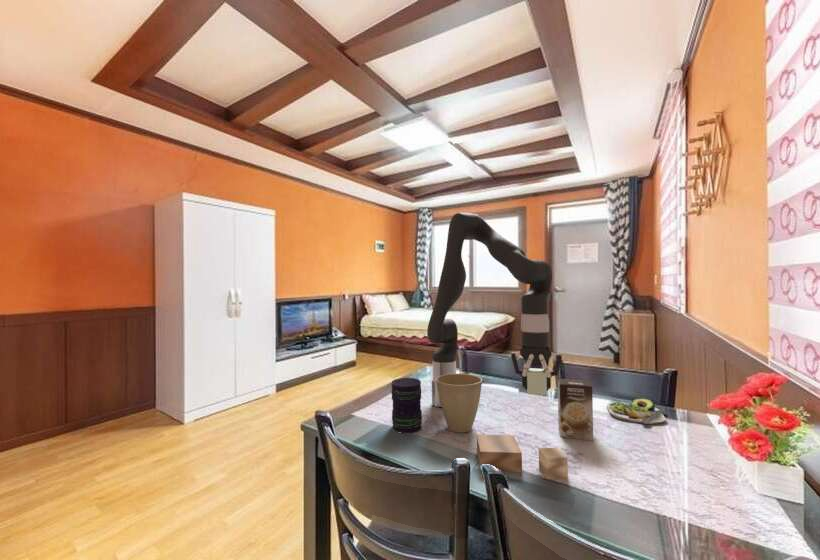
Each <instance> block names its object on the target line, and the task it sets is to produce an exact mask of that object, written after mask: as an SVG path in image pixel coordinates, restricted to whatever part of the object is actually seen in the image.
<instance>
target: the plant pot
mask: <svg viewBox="0 0 820 560" xmlns="http://www.w3.org/2000/svg"><path fill="white" fill-rule="evenodd" d="M436 383H437V389H438V395H439V399H440V403H441V407H442V408H441V410H442V413H443V416H444V419H445V423H446V425H447V427H448V429H449V430H450V431H451V432H453V433H459V434H460V433H461V434H462V433H468V432H470V431H471V430H472V429H473V426H474V422H475V420H476V416H477V413H478V409H479V404H480V399H481V393H482V386H483V385H482V383H483V379H482V377H480V376H478V375H474V374H470V373H468V374H467V373H456V374H446V375H441V376H439V377H437V378H436Z"/></svg>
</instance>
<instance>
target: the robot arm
mask: <svg viewBox="0 0 820 560" xmlns="http://www.w3.org/2000/svg"><path fill="white" fill-rule="evenodd" d="M465 240H466V241H470V240H471V241H473V240H474V241H476V242H479V243H481V244H483V245H484V246H485V247H486V248H487V250H488V253H489V254H490V256H491V257H492V258H493V259H494V260H496V261H497V262H498V263H499V264H501V265H502V266H504V267H505V268H506V269H507V270H508V271H509V273H510V274H511V275H512V276H513V278H515V280H517V281H518V282H520V283H522V284H524V285H529V288H528V292H526V293H523V294H522V296H521V319H520V331H521V332H520V334H521V335H520V336H521V337H520V339H521V347H520V350H519V351H511V352H510V356H511V361H512V364H513V368H514V372H515V374H517V375H520V376H521V385H522V388H524V390H526V391H527V371H528V370H529V368H531V367H532V366H534V367H535V366H537V367H542V369H544V371H545V372H546V376H547V392H548V391H549V390H551V387H552V377H557V376H559V371H560V368H561V367H560V366H561V363H562V360H563V359H562V358H563V357H562V354H561V353H559V352H557V353H555V352H552V350H551V348H550V319H549V312H548V311H549V309H548V306H549V304H548V298H549V295H550V290H551V286H552V282H553V272H552V267H551V265H550V264H549V263H548V262H547V261H546V260H542V259H530V258H528V257H527V256H526V253H525V251H524V250H523V249H521V248H520V247H518V246H517V245H516V244H514V243H513V242H511V241H509V240H508V239H506V238H505V237H503V236H502V235H501V234H499V233H498V232H497V231H496V230H495V229H494V228H493V227H492V226H491V225H490V224H488V223H487V222H486V220H485V219H484V218H482V217H481V216H480V215H479V214H477V213H469V212H468V213H467V212H456V213H455V214H453V216H452V217H451V219H450V221H449V226H448V232H447V241H446V247H445V248H446V250H445V254H444V259H443V265H442V269H441V274H440V278H439V282H438V288H437V293H436V297H435V302H434V305H433V308H432V312H431V315H430V318H429V321H428V325H427V330H426V333H427V339H428V341H429V342H430V343H431V344H442V345H441V346H440V347H439V348H438V349H437V350H435V351H434V352H433V353H432V355H431V356H432V357H431V358H432V359H431V362H432V363H431V365H432V380H431V406H432V405H436V406H439V407H441V403H440V399H439V395H438V389H437V383H436V378H437V377H439V376H441V375H446V374H457V354H458V335H459V333H458V326H457V323H456V321H454V319H452V318H446V316H447V314H448V312H449V311H450V310H451V308H452V307H453V306H454V305H455V303H457V302H458V300H459V299H460V297H461V296H462V294H463V292H464V287H465V283H466V279H467V271H466V267H465V265H464V261H463V257H462V251H463V245H464V241H465ZM520 356H521V357H522V359H523V360H524V363H523V367H522V369H520V367H519V363H518V360H520ZM550 358H552V360H553V365H552V369H551V370H550V369H549V367H548V364H547V362H548V361H549V359H550ZM436 406H435V407H436ZM439 407H438V408H439Z"/></svg>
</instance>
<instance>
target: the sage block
mask: <svg viewBox="0 0 820 560" xmlns="http://www.w3.org/2000/svg"><path fill="white" fill-rule="evenodd" d="M526 392H527V395H541V396H543V395H544V396H548V391H547V376H546V372H545V371H544V369H543V368H536V367H535V368H534V367H533V368H532V367H530V368H529V370H528V371H527V390H526Z"/></svg>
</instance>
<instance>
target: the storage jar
mask: <svg viewBox="0 0 820 560" xmlns="http://www.w3.org/2000/svg"><path fill="white" fill-rule="evenodd" d="M421 382H422V381H421V380H420V379H417V378H414V377H402V378H401V377H400V378H397V379H393V380H392V381H391V400H392V412H391V421H392V430H393V429H394V430H395V431H397V432H396V433H398V432H401V433H400V434H402V433H410V434H415V433H418V432H419V430H420V431H421V430H422V427H423V426H422V423H423V422H422V420H423V416H422V415H423V414H422V409H421V406H422V405H421V404H422V403H421V400H422V385H421V384H422V383H421ZM394 430H393V431H394ZM395 431H394V432H395Z"/></svg>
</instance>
